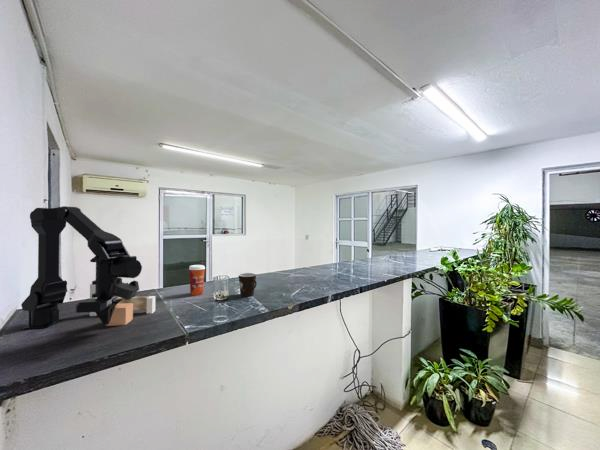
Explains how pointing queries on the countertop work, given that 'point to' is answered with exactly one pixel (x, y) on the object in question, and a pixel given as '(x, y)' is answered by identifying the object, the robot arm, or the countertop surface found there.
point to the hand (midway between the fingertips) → (106, 324)
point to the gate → (136, 302)
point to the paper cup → (196, 279)
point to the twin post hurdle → (149, 301)
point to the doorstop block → (122, 314)
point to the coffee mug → (247, 284)
